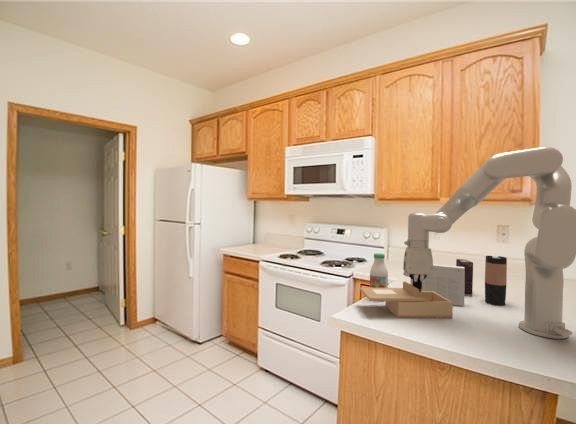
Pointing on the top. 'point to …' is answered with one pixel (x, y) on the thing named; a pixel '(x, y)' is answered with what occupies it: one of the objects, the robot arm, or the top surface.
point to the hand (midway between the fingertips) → (417, 290)
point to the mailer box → (422, 307)
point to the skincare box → (446, 283)
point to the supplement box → (467, 275)
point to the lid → (393, 293)
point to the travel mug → (495, 280)
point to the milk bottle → (379, 272)
